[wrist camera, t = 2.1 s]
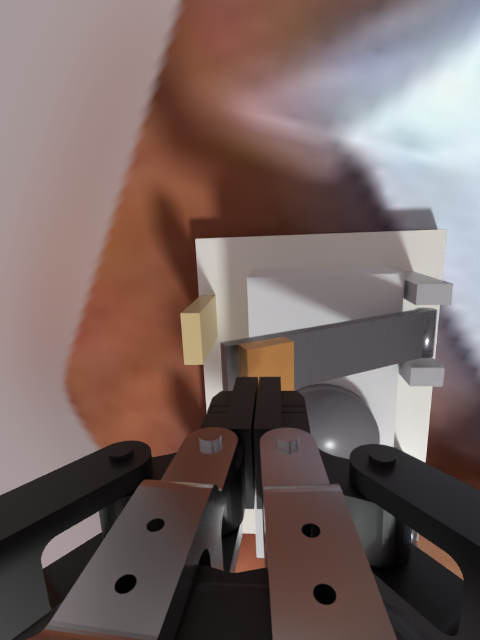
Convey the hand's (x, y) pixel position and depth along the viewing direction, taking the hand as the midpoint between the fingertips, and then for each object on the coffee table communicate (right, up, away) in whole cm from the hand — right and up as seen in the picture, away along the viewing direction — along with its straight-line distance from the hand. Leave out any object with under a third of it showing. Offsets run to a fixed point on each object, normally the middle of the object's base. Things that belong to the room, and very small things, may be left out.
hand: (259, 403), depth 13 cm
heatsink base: (+5, -2, +14) cm, 15 cm away
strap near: (+4, +2, +5) cm, 6 cm away
